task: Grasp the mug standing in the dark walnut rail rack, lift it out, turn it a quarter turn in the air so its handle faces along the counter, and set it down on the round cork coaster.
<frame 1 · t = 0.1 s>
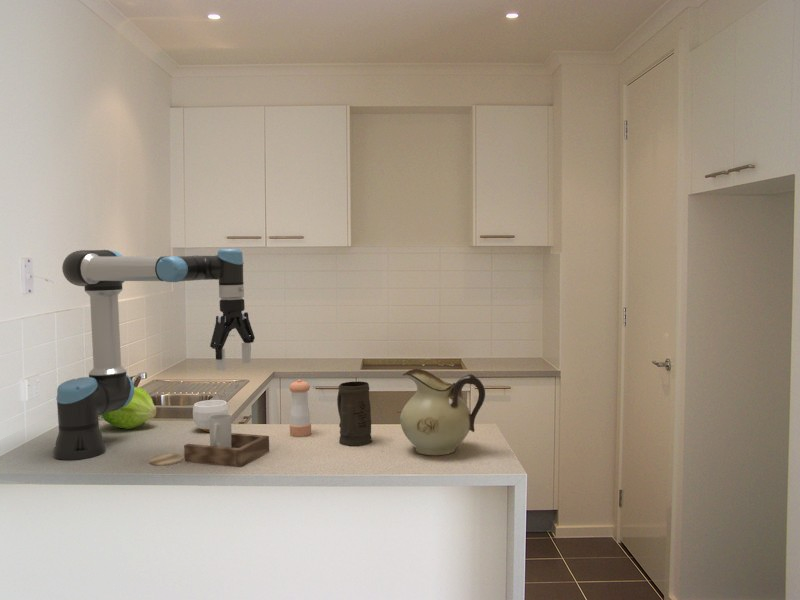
hand: (234, 366, 218), 28 cm above the countertop, fingers open, 13 cm apart
mug: (219, 456, 218), resting in rack
pitcher: (437, 450, 220), on the countertop
white bowl: (211, 430, 250), on the countertop
salt shaker: (300, 434, 242), on the countertop
coaster: (166, 460, 213), on the countertop
rack: (225, 456, 217), on the countertop
lettuce: (130, 428, 255), on the countertop
beer stein: (350, 441, 233), on the countertop
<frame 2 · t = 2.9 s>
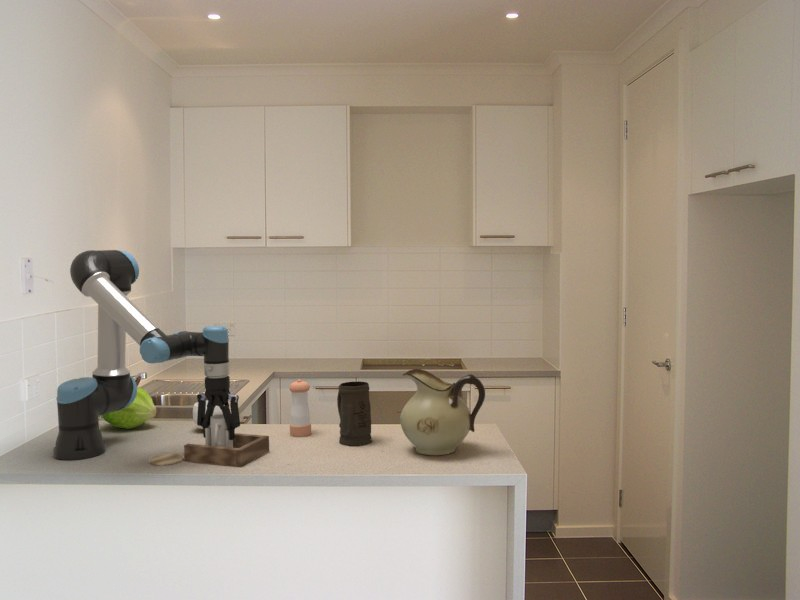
hand: (219, 448, 218), 2 cm above the countertop, fingers closed on mug, 7 cm apart
mug: (220, 456, 218), resting in rack, touching gripper
everything else where it was.
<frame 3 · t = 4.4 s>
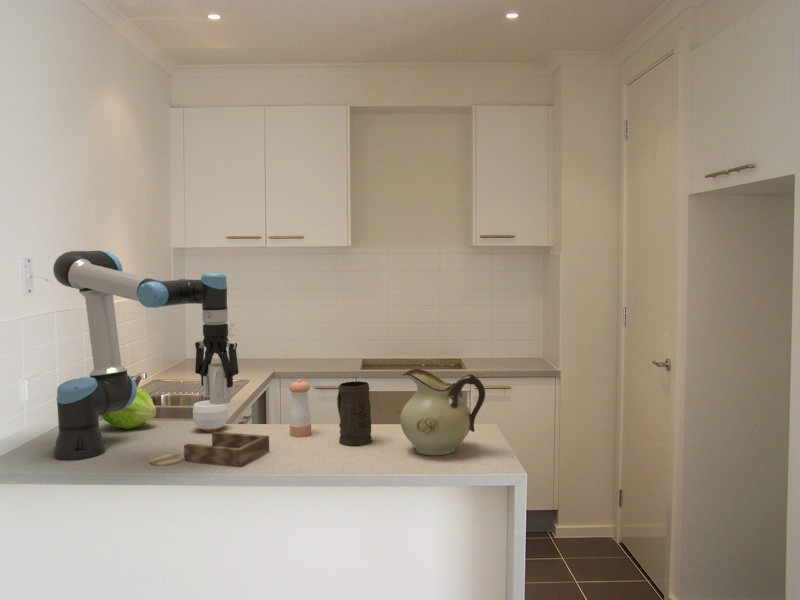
hand: (217, 396, 217), 19 cm above the countertop, fingers closed on mug, 7 cm apart
mug: (218, 404, 217), point 16 cm above the countertop, touching gripper
everything else where it was.
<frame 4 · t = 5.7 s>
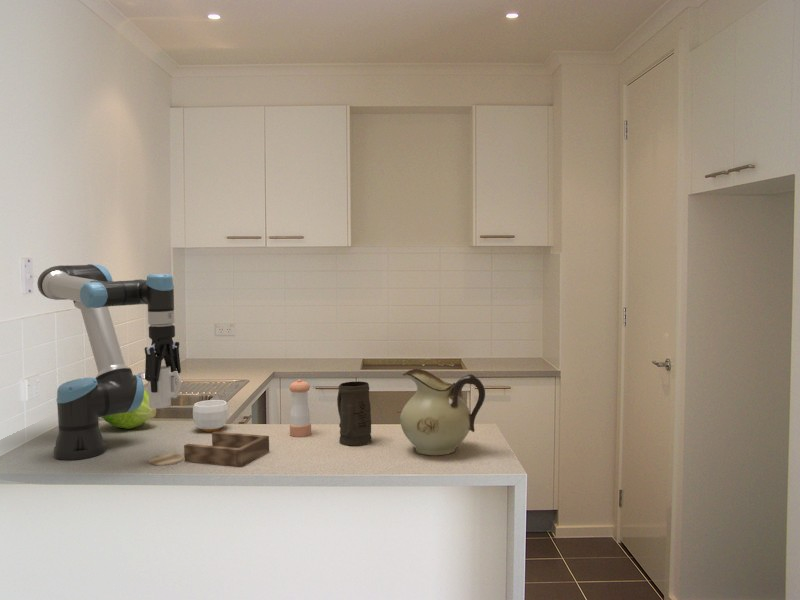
hand: (164, 400, 212), 19 cm above the countertop, fingers closed on mug, 7 cm apart
mug: (165, 407, 213), point 16 cm above the countertop, touching gripper
everything else where it was.
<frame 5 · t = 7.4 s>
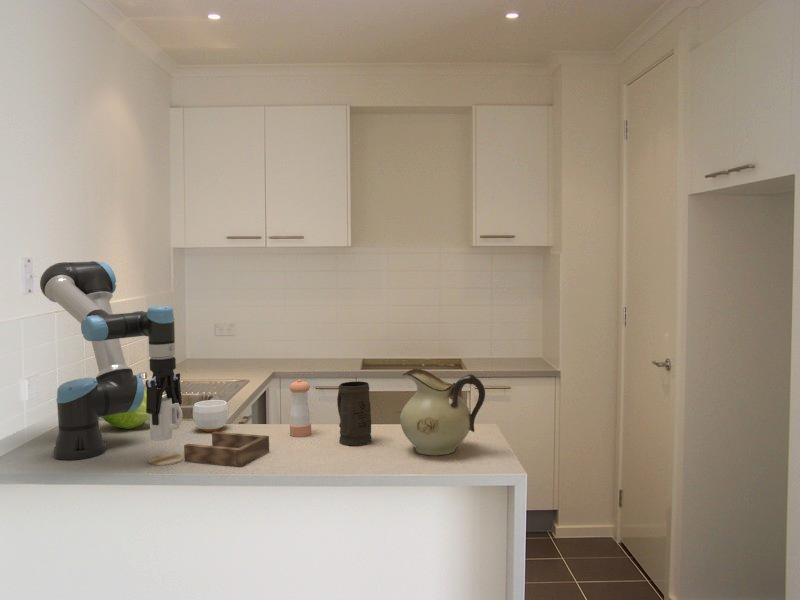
hand: (165, 431, 213), 9 cm above the countertop, fingers closed on mug, 7 cm apart
mug: (166, 438, 213), point 7 cm above the countertop, touching gripper
everything else where it was.
when the fingers open (4 cm above the countertop, at t = 8.7 s): mug drops 2 cm, resting on coaster.
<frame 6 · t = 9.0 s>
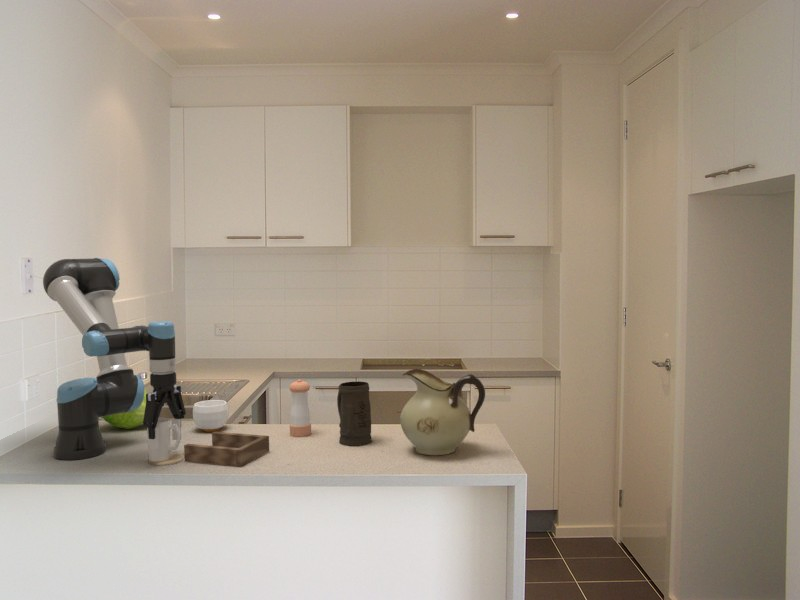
hand: (165, 444, 213), 5 cm above the countertop, fingers open, 10 cm apart
mug: (165, 459, 213), resting on coaster
everything else where it was.
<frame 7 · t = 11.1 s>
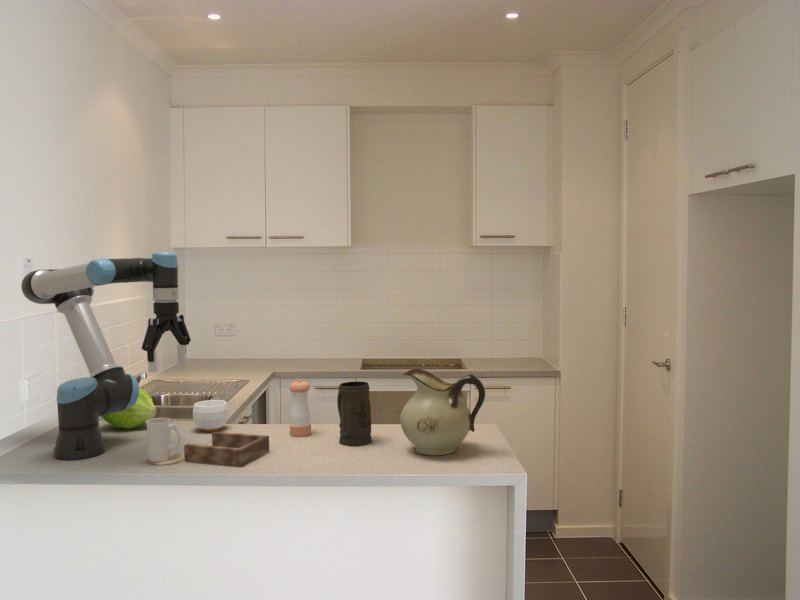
hand: (167, 368, 220), 27 cm above the countertop, fingers open, 13 cm apart
nothing on the countertop moved.
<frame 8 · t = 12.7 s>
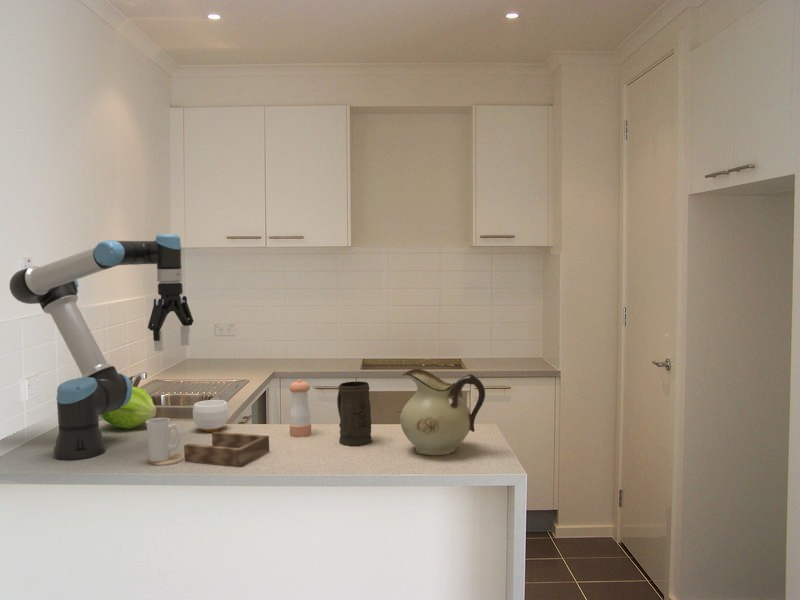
hand: (172, 348, 225), 33 cm above the countertop, fingers open, 13 cm apart
nothing on the countertop moved.
at the end: mug 0.5 cm from the coaster (horizontally); mug tilted 0°; the gripper is holding nothing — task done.
